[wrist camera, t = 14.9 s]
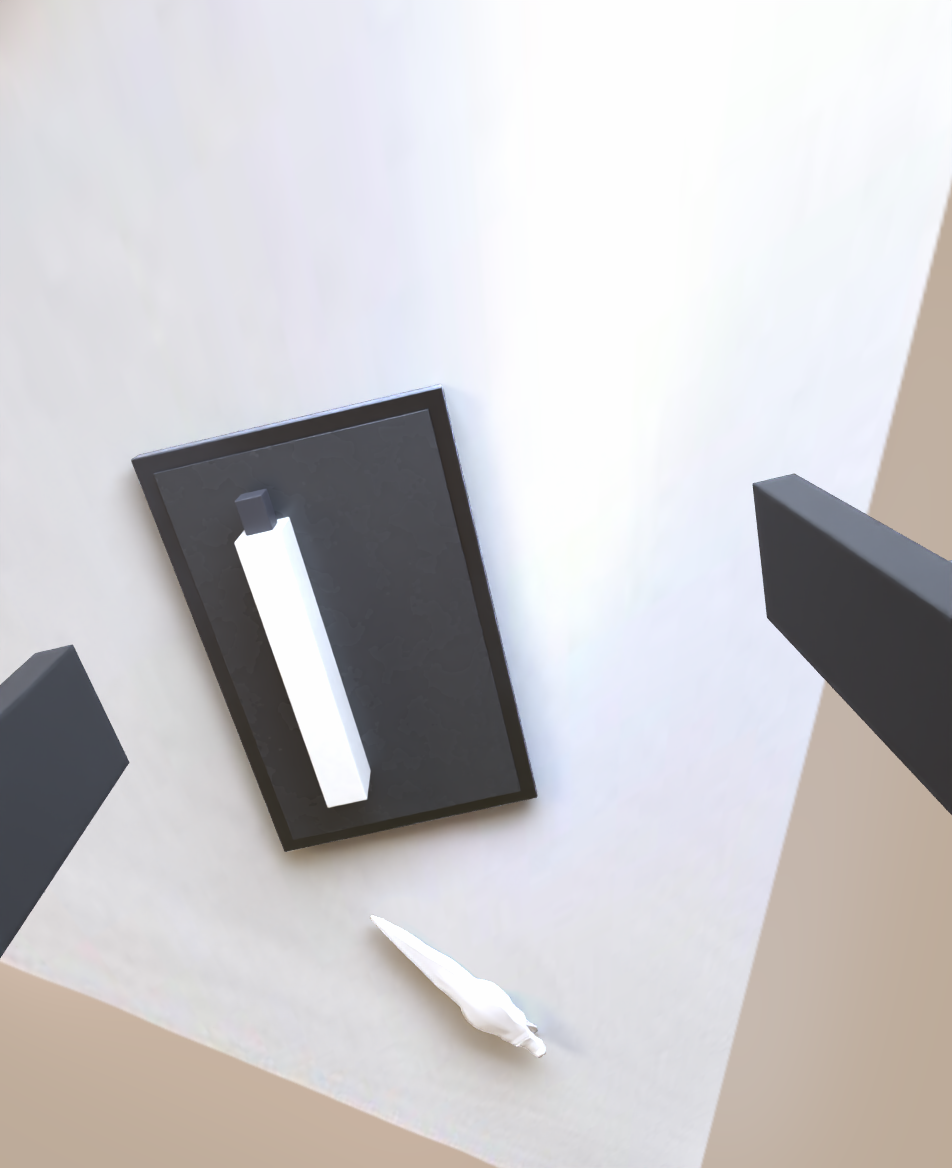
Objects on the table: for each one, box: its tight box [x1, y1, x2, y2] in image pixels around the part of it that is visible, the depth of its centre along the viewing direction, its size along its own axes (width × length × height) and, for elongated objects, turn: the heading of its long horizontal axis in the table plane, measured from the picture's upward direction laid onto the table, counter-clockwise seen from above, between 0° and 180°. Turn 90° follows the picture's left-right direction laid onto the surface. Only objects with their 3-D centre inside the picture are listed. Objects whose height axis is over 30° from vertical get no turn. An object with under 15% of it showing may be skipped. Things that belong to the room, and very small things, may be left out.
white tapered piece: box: [370, 915, 546, 1058], centre depth 46 cm, size 15×3×2 cm, turn 43°
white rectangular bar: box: [234, 489, 371, 808], centre depth 36 cm, size 2×16×2 cm, turn 12°
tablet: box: [131, 384, 538, 852], centre depth 38 cm, size 14×22×1 cm, turn 13°
